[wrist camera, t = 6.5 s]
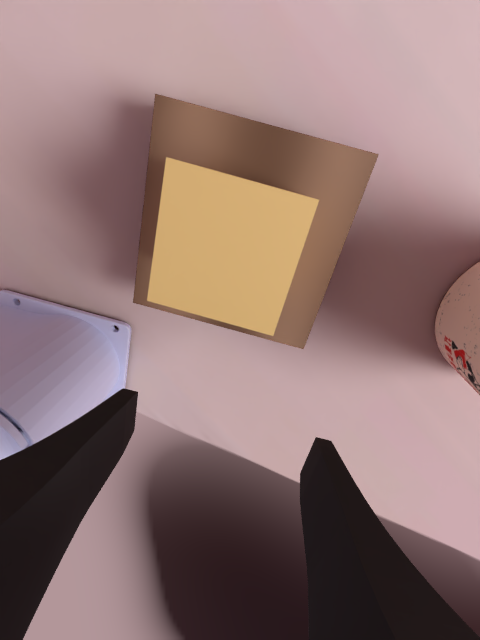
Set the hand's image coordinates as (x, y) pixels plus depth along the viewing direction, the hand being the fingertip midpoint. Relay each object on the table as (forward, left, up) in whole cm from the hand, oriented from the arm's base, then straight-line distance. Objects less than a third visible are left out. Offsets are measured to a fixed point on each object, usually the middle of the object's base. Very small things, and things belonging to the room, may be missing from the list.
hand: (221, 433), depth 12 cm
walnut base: (-2, +6, -9) cm, 11 cm away
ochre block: (-2, +7, -6) cm, 9 cm away
